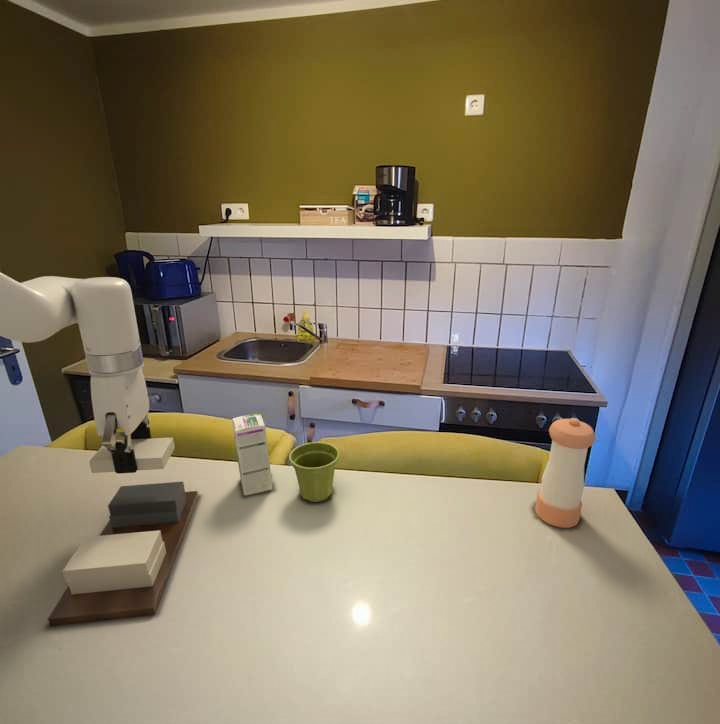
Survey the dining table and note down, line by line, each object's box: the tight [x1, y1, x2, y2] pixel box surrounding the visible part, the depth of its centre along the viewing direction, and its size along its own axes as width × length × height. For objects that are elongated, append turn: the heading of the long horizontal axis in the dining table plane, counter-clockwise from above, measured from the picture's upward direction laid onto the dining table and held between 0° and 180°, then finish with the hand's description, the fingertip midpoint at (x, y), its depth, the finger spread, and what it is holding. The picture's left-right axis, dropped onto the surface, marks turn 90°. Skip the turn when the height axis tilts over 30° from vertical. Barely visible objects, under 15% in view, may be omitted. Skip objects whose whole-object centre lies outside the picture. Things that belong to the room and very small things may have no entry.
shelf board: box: [47, 490, 199, 626], centre depth 70 cm, size 14×26×1 cm, turn 7°
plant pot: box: [288, 441, 340, 503], centre depth 82 cm, size 9×9×9 cm
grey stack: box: [107, 481, 186, 528], centre depth 75 cm, size 11×5×5 cm, turn 97°
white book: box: [88, 437, 176, 474], centre depth 72 cm, size 11×7×2 cm, turn 97°
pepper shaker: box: [534, 417, 596, 529], centre depth 74 cm, size 7×7×19 cm
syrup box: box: [231, 413, 273, 496], centre depth 83 cm, size 6×6×14 cm
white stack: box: [62, 530, 166, 594], centre depth 63 cm, size 11×7×4 cm, turn 97°
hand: (135, 458), depth 72 cm, fingers closed on white book, 6 cm apart
